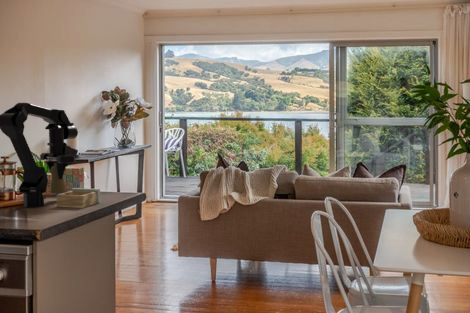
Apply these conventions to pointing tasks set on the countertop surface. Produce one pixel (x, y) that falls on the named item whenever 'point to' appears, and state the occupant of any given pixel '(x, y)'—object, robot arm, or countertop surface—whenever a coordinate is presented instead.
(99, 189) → the track and backstop
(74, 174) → the stack of blocks
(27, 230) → the countertop surface
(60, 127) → the robot arm
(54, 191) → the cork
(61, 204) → the socket block
